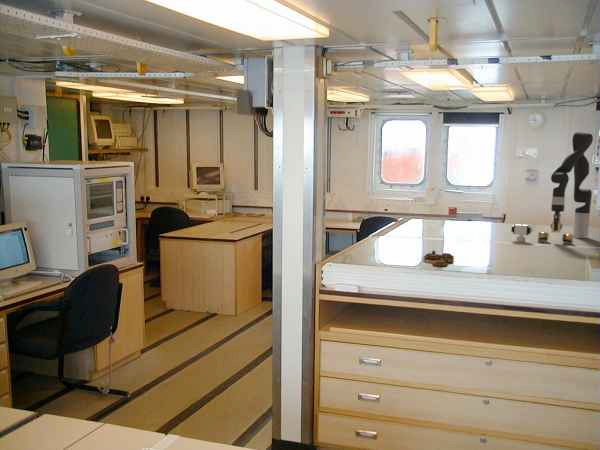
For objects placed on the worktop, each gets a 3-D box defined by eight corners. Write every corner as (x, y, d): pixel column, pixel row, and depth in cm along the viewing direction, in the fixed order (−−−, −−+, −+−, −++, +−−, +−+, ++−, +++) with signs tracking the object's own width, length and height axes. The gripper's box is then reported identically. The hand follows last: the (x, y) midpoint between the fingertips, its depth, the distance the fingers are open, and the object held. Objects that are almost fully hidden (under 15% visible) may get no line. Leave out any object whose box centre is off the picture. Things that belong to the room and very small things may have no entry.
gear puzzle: (454, 269, 308) (454, 261, 308) (421, 267, 312) (421, 259, 311) (453, 258, 338) (453, 250, 338) (424, 256, 342) (424, 249, 341)
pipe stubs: (539, 241, 401) (539, 230, 400) (572, 243, 391) (573, 232, 390) (537, 242, 396) (538, 231, 395) (571, 245, 386) (572, 233, 385)
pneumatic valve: (529, 242, 392) (530, 224, 391) (510, 241, 399) (511, 222, 397) (531, 241, 397) (532, 223, 395) (512, 240, 403) (513, 222, 402)
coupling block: (561, 232, 393) (562, 221, 392) (561, 232, 389) (561, 221, 388) (550, 231, 396) (551, 220, 395) (550, 232, 392) (550, 221, 391)
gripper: (563, 205, 382) (561, 231, 384) (565, 203, 394) (563, 229, 397) (550, 204, 386) (548, 230, 388) (553, 202, 398) (551, 228, 400)
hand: (556, 230), depth 392 cm, fingers closed on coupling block, 5 cm apart
